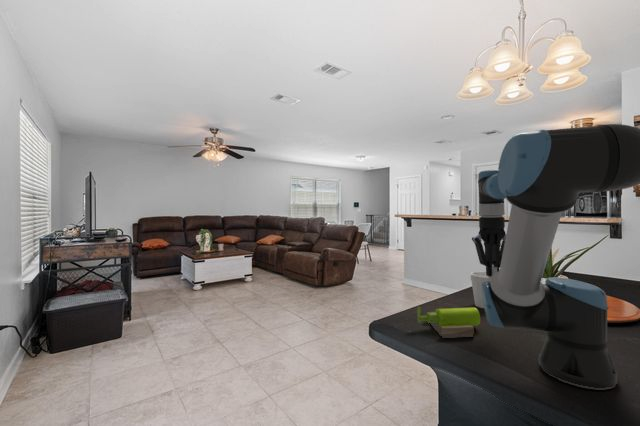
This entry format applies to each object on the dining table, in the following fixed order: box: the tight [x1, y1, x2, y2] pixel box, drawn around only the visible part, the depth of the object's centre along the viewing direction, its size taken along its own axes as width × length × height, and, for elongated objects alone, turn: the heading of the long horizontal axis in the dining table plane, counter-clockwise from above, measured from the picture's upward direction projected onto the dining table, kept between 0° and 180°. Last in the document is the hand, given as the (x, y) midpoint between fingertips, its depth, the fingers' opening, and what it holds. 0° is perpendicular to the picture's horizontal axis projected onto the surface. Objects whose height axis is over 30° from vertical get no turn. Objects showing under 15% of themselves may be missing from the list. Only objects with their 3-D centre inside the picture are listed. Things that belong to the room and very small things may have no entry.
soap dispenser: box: [416, 305, 481, 327], centre depth 105 cm, size 6×7×20 cm
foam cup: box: [470, 271, 488, 309], centre depth 125 cm, size 10×9×13 cm
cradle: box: [426, 311, 475, 335], centre depth 105 cm, size 14×10×4 cm
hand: (492, 285), depth 104 cm, fingers closed
